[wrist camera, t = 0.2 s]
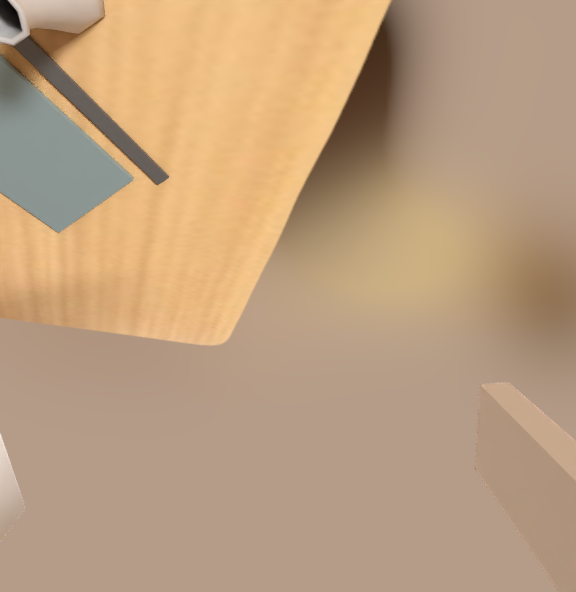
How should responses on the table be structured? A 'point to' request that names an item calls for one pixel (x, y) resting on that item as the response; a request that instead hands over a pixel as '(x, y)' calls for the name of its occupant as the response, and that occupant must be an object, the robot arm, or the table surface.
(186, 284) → the table surface
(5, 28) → the flask
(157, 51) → the table surface
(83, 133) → the mat
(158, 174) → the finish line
